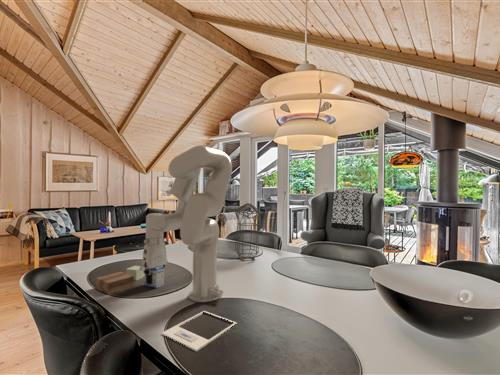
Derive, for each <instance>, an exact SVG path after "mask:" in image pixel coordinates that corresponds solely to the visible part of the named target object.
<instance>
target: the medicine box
mask: <svg viewBox="0 0 500 375" xmlns="http://www.w3.org/2000/svg"><path fill="white" fill-rule="evenodd" d="M145 269H146V267H145ZM148 271H149V269H148ZM151 275H152V284H148V283H146V274H145V275H144V277H143V278H144V279H143V283H144V286H145V287H150V288H153V287H154V289H159V288H162V287H163V286H165V267H163V266H159V267H156V268H152V272H151ZM158 287H159V288H158Z"/></svg>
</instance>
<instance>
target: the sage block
mask: <svg viewBox="0 0 500 375" xmlns="http://www.w3.org/2000/svg"><path fill="white" fill-rule="evenodd" d="M140 267H141V265H133V266H130V267H128V268H126V269H125V270H126V271H125V273H126V274H129V275H132V276H134V281H139V280H141V279H143V278H144V275H145V273H144V272H143V271H141V270H140Z"/></svg>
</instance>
